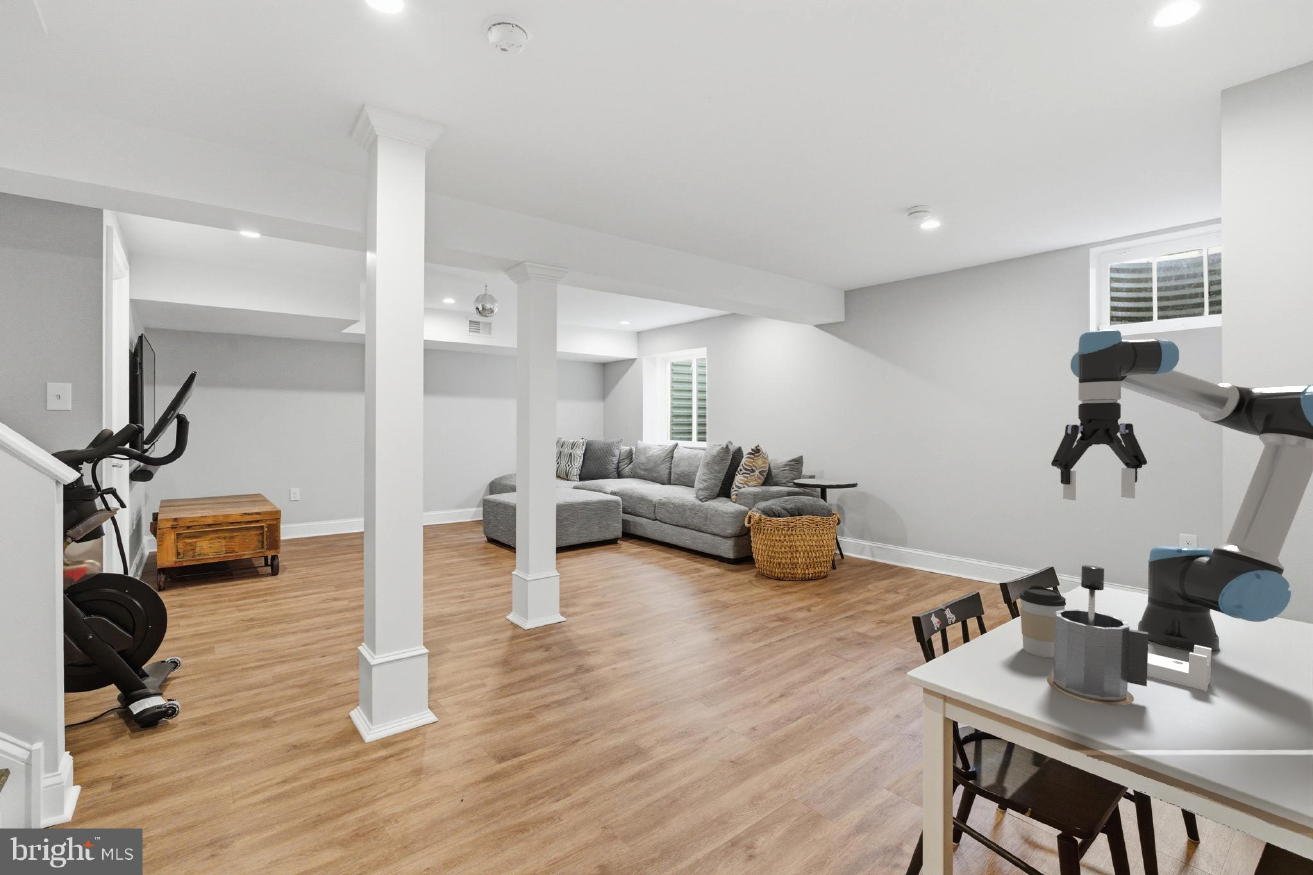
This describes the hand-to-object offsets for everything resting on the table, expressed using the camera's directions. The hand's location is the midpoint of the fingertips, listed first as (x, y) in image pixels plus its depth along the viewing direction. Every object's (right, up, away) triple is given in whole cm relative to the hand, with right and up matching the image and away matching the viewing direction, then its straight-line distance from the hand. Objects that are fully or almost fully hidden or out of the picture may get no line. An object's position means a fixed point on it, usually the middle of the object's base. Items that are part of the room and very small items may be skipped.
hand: (1098, 498), depth 133 cm
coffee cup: (-9, -37, +6) cm, 38 cm away
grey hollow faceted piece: (-12, -36, -13) cm, 40 cm away
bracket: (+9, -37, -6) cm, 39 cm away
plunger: (-12, -32, -13) cm, 37 cm away
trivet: (-12, -37, -13) cm, 41 cm away
